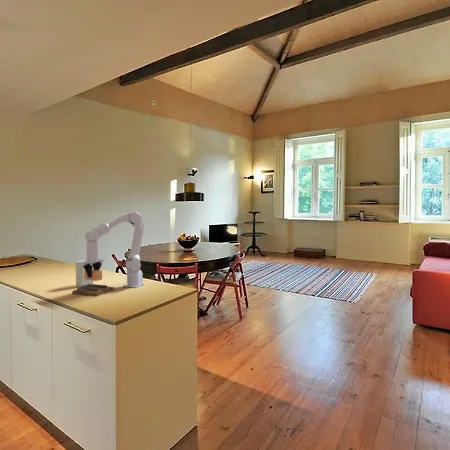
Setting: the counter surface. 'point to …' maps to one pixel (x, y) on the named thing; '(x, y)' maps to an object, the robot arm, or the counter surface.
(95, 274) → the terracotta cardboard box
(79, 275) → the skincare box
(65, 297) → the counter surface
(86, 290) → the display stand
